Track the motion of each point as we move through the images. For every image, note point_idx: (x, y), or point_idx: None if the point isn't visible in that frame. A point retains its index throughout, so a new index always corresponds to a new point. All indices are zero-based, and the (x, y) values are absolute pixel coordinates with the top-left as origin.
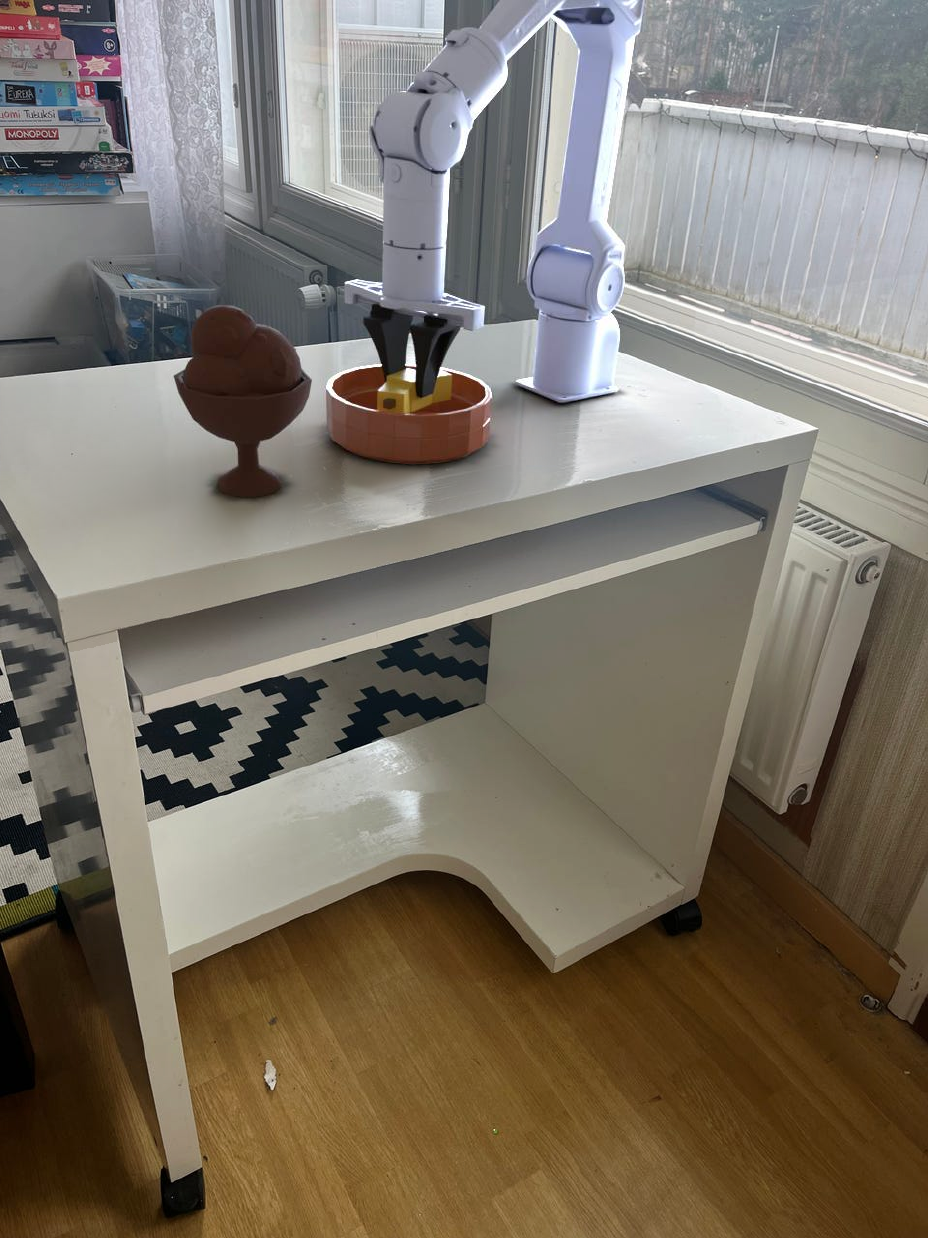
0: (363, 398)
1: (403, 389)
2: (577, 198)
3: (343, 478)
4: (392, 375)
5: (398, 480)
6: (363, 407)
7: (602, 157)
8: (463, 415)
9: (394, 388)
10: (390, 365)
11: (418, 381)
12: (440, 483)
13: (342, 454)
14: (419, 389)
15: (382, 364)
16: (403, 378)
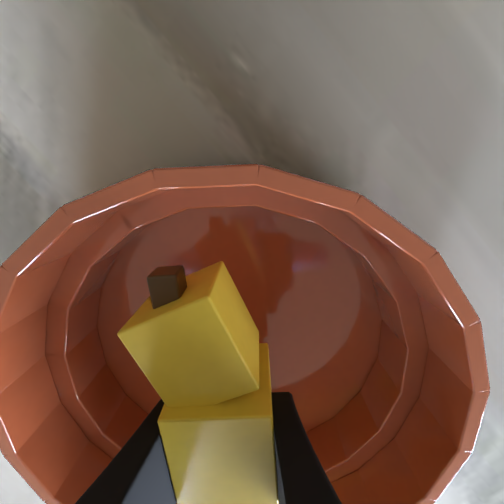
0: (390, 382)
1: (157, 368)
2: None
3: (165, 47)
4: (260, 431)
5: (81, 138)
6: (187, 181)
7: None
8: None
9: (185, 355)
10: (279, 472)
11: (142, 436)
12: (19, 191)
13: (270, 166)
14: (153, 413)
15: (309, 461)
16: (209, 431)
